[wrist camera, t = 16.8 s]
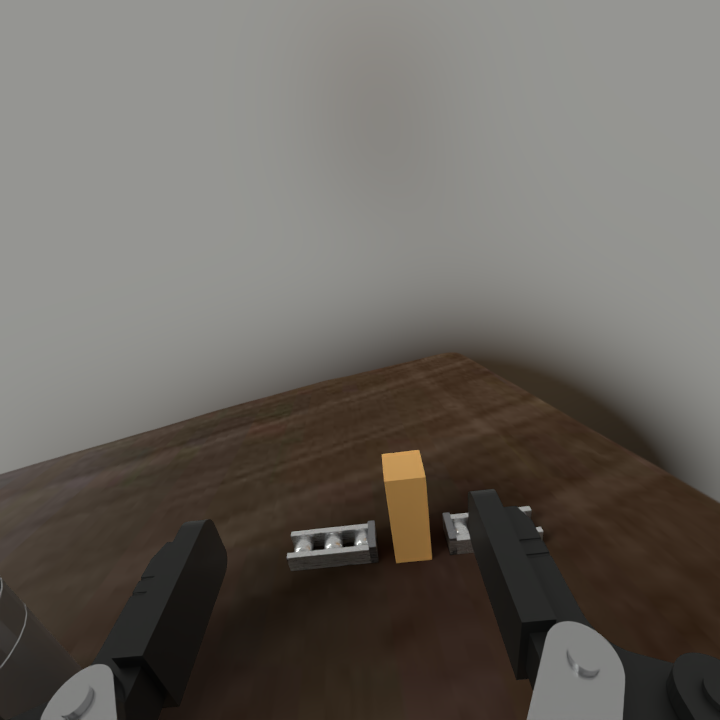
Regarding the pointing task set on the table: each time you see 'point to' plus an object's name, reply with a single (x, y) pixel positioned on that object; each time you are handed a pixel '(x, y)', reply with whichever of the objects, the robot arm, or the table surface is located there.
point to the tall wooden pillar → (407, 505)
